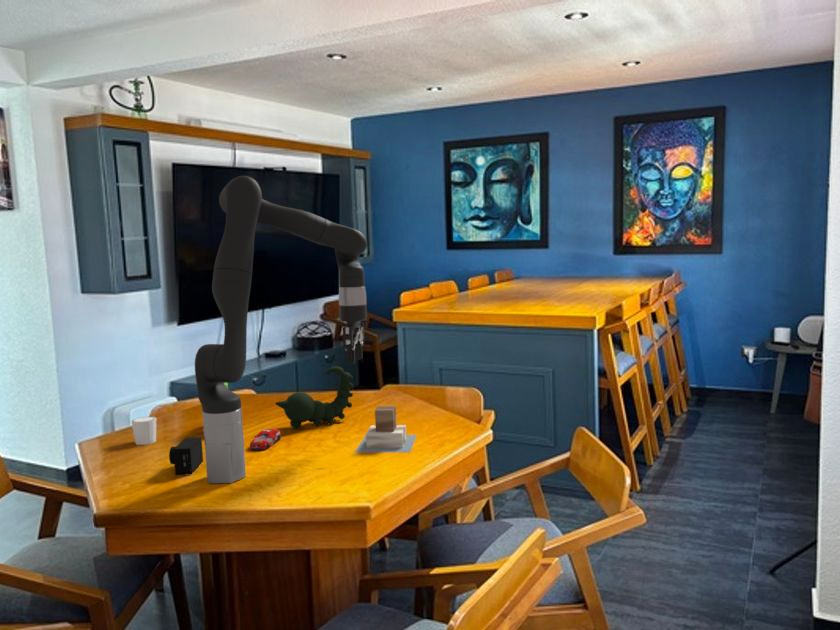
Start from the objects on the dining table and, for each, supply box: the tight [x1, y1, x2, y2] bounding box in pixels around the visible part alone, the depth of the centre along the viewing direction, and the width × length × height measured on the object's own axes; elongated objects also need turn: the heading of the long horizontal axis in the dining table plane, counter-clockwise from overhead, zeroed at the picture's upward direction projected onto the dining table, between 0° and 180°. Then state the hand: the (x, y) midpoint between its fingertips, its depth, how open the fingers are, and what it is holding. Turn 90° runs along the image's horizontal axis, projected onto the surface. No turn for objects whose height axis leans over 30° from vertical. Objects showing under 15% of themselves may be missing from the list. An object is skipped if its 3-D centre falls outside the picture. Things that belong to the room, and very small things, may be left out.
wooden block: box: [365, 424, 407, 448], centre depth 193 cm, size 8×10×4 cm
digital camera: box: [168, 436, 204, 476], centre depth 180 cm, size 10×5×7 cm, turn 2°
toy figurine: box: [275, 365, 354, 430], centre depth 217 cm, size 9×19×25 cm
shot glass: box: [131, 416, 157, 446], centre depth 205 cm, size 7×7×7 cm
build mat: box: [354, 434, 418, 453], centre depth 193 cm, size 16×15×1 cm
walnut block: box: [374, 405, 398, 432], centre depth 193 cm, size 5×5×6 cm
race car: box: [249, 428, 282, 451], centre depth 199 cm, size 13×5×4 cm, turn 167°
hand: (354, 361), depth 192 cm, fingers open, 8 cm apart
